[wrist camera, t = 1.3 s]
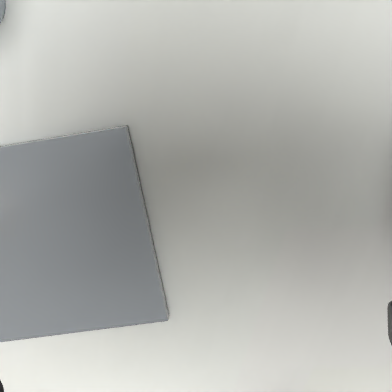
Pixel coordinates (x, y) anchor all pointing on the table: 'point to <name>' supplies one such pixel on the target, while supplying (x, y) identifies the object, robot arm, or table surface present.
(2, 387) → the robot arm
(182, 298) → the table surface
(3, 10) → the side post
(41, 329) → the tile
